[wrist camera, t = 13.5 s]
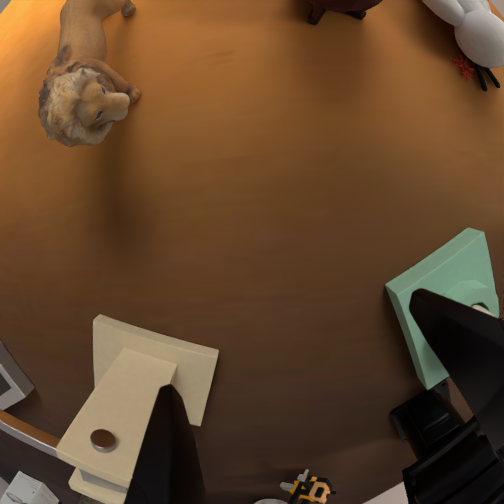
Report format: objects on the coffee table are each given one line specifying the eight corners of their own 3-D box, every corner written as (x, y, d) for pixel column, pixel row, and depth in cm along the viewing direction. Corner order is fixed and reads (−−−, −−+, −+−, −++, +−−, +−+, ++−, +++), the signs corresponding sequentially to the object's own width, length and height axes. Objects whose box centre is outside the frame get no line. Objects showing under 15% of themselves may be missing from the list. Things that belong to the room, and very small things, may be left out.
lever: (-28, 392, 12) (-49, 419, 9) (-40, 357, 12) (-66, 383, 8) (135, 464, 14) (126, 506, 11) (134, 434, 14) (122, 482, 10)
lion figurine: (172, 139, 18) (112, 111, 9) (104, 167, 19) (20, 166, 10) (133, -11, 15) (89, -71, 6) (78, 18, 15) (19, -26, 7)
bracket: (99, 385, 23) (40, 479, 11) (99, 313, 21) (7, 407, 9) (202, 417, 24) (179, 533, 12) (219, 349, 22) (193, 485, 10)
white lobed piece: (367, -35, 14) (467, 101, 17) (385, -71, 9) (510, 86, 11) (425, -38, 13) (511, 82, 16) (447, -65, 8) (547, 70, 10)
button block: (487, 325, 22) (510, 342, 18) (417, 377, 23) (436, 402, 19) (467, 226, 19) (499, 236, 15) (384, 284, 20) (408, 305, 17)
